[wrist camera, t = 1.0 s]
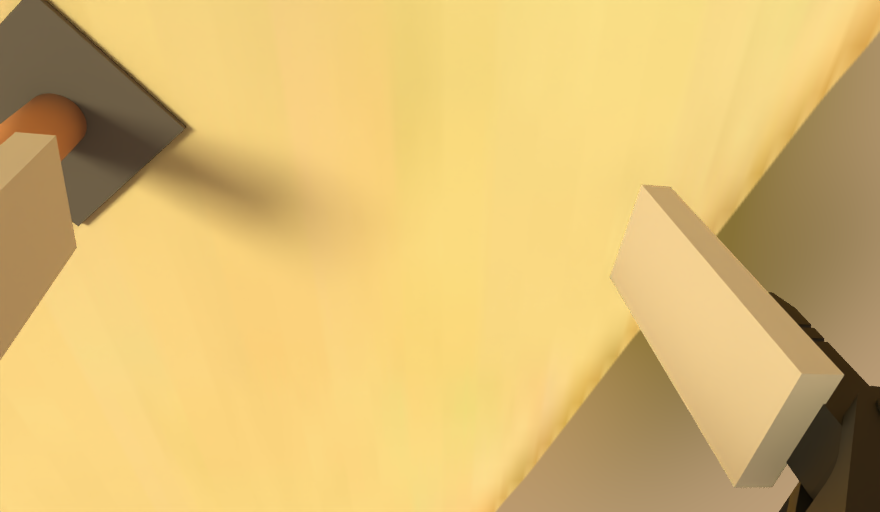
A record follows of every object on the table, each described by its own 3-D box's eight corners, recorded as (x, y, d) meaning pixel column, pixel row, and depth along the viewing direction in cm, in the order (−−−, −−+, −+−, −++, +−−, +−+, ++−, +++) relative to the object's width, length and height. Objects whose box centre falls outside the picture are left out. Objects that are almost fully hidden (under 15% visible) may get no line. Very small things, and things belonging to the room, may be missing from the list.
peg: (14, 117, 37) (-114, 219, 27) (49, 82, 36) (-70, 172, 26) (64, 156, 38) (-39, 266, 28) (98, 123, 37) (4, 224, 27)
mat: (-75, 108, 36) (-80, 111, 36) (33, -11, 34) (30, -9, 33) (80, 223, 41) (78, 226, 41) (186, 126, 38) (184, 129, 38)
